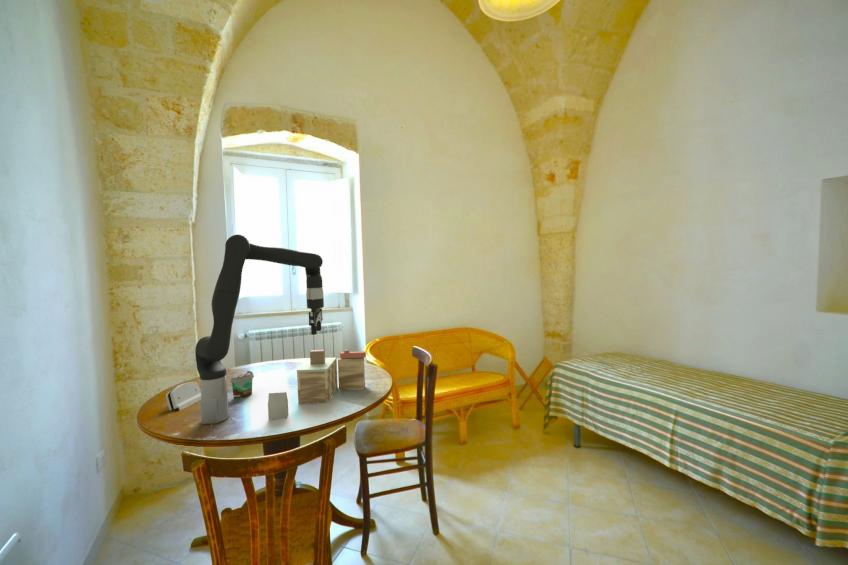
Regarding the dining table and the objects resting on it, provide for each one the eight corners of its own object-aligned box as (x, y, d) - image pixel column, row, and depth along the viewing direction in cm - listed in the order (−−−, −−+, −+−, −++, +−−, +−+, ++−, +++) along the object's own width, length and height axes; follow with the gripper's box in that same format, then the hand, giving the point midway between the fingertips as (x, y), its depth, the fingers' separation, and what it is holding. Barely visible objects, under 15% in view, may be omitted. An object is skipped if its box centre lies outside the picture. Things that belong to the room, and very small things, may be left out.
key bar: (365, 357, 181) (365, 350, 181) (340, 358, 181) (339, 350, 181) (365, 356, 183) (365, 348, 183) (341, 357, 183) (340, 349, 183)
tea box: (286, 418, 150) (285, 393, 149) (268, 419, 149) (267, 395, 148) (288, 414, 153) (287, 390, 153) (271, 416, 153) (270, 391, 152)
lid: (326, 373, 165) (326, 355, 164) (297, 374, 164) (296, 356, 164) (336, 361, 185) (336, 345, 184) (310, 361, 184) (309, 346, 184)
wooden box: (358, 401, 166) (357, 367, 165) (298, 403, 165) (296, 369, 164) (365, 386, 186) (364, 356, 185) (311, 388, 185) (309, 358, 184)
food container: (243, 400, 171) (242, 378, 170) (231, 399, 172) (230, 378, 172) (260, 391, 183) (259, 370, 183) (249, 390, 184) (248, 370, 184)
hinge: (179, 410, 161) (171, 389, 160) (170, 414, 161) (161, 392, 161) (206, 396, 177) (198, 376, 177) (198, 399, 178) (190, 380, 178)
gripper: (311, 296, 180) (312, 330, 181) (302, 299, 166) (303, 335, 166) (326, 295, 180) (328, 329, 181) (319, 298, 166) (320, 335, 167)
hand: (316, 332), depth 174 cm, fingers open, 8 cm apart
